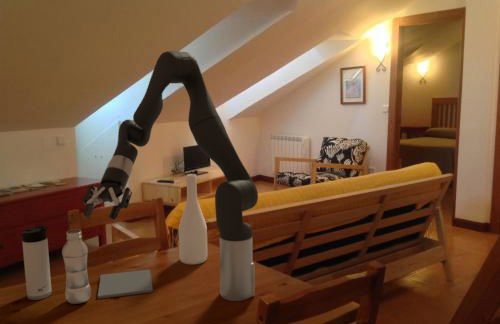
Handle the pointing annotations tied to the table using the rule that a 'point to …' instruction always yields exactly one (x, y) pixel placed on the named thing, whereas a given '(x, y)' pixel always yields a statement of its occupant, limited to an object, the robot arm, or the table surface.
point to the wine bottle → (192, 227)
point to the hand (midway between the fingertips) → (98, 217)
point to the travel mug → (36, 263)
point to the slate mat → (125, 284)
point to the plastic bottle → (76, 268)
